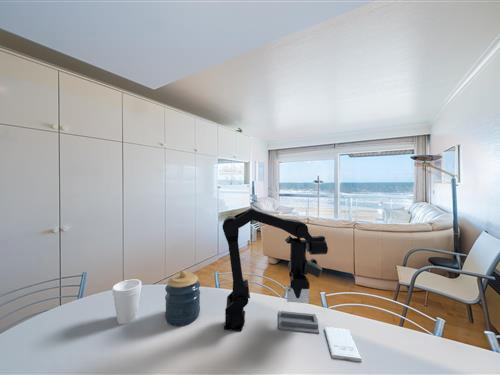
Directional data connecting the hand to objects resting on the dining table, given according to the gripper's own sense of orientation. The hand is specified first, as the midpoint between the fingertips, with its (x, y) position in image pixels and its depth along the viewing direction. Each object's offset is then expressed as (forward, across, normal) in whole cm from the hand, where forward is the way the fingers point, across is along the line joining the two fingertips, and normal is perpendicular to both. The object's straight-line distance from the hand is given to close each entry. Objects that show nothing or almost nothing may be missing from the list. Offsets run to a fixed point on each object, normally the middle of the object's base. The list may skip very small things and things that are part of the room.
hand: (297, 296), depth 78 cm
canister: (+10, -3, +44) cm, 45 cm away
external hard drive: (+11, -9, -13) cm, 19 cm away
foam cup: (+10, -8, +64) cm, 65 cm away
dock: (+10, 0, 0) cm, 10 cm away
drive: (+2, 0, 0) cm, 2 cm away
